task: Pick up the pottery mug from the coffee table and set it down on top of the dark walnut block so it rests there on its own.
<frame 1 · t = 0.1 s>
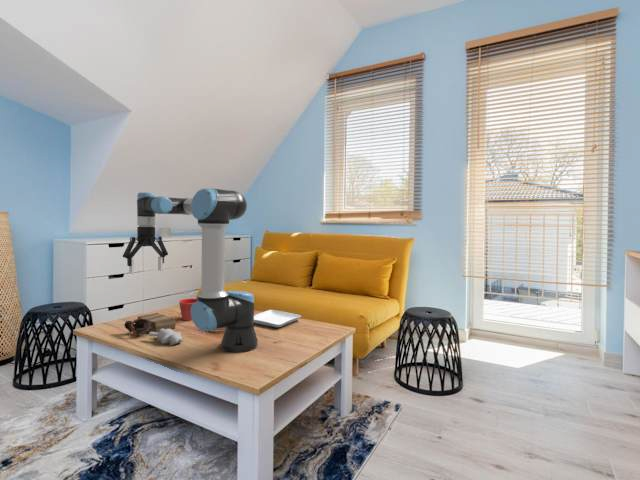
hand: (146, 271, 174), 28 cm above the table, tool pointing down, fingers open, 13 cm apart
flower pot: (190, 319, 198), on the table
walnut block: (156, 327, 180), on the table
pottery mug: (137, 334, 170), on the table
bunny figurine: (166, 342, 161), on the table
salad plate: (274, 322, 196), on the table
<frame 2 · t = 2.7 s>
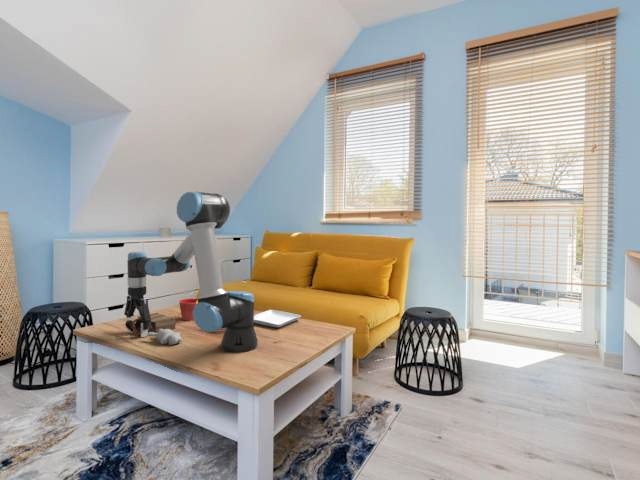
hand: (137, 333, 170), 0 cm above the table, tool pointing down, fingers closed on pottery mug, 11 cm apart
pottery mug: (138, 334, 171), on the table, touching gripper
everything else where it was.
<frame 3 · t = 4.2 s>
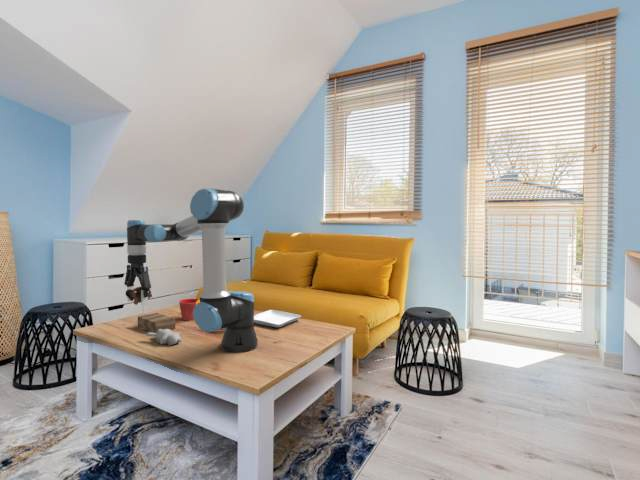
hand: (137, 302, 169), 15 cm above the table, tool pointing down, fingers closed on pottery mug, 11 cm apart
pottery mug: (138, 303, 170), point 14 cm above the table, touching gripper
everything else where it was.
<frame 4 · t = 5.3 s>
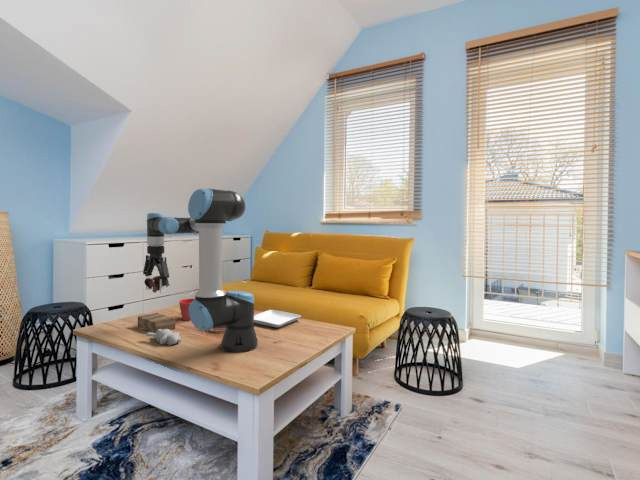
hand: (155, 290, 179), 18 cm above the table, tool pointing down, fingers closed on pottery mug, 11 cm apart
pottery mug: (156, 291, 180), point 18 cm above the table, touching gripper
everything else where it was.
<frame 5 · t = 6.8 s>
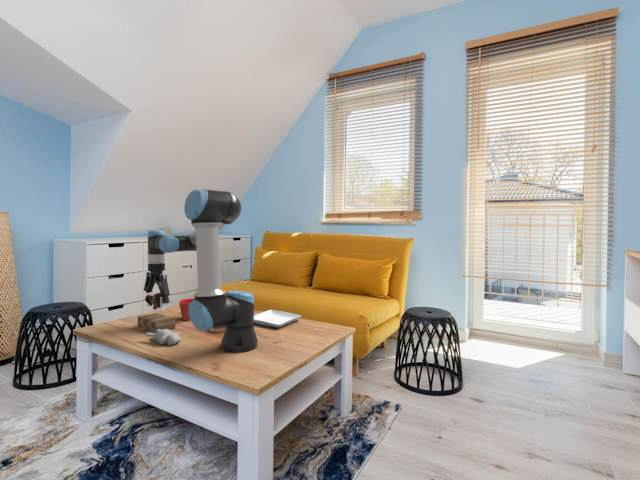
hand: (156, 307, 180), 10 cm above the table, tool pointing down, fingers closed on pottery mug, 11 cm apart
pottery mug: (157, 308, 181), point 9 cm above the table, touching gripper
when the fingers open (7 cm above the table, at t = 8.1 s): pottery mug drops 1 cm, resting on walnut block.
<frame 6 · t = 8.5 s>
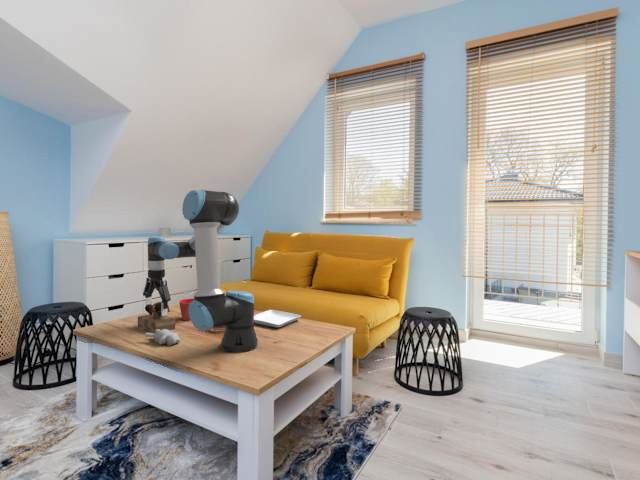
hand: (156, 313, 180), 7 cm above the table, tool pointing down, fingers open, 13 cm apart
pottery mug: (157, 317, 181), point 5 cm above the table, touching walnut block
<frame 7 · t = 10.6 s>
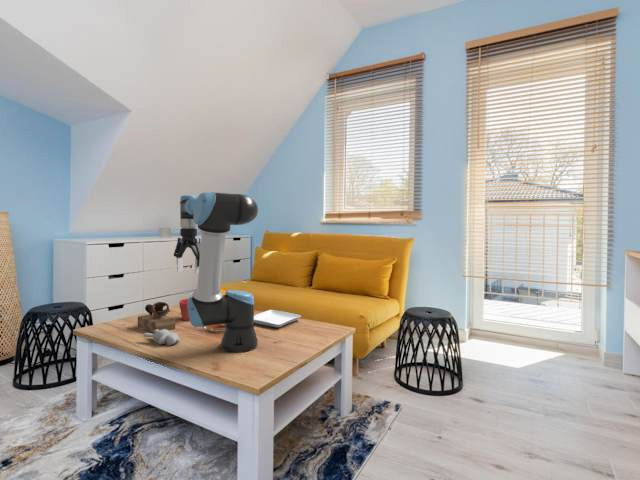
hand: (188, 272, 180), 27 cm above the table, tool pointing down, fingers open, 13 cm apart
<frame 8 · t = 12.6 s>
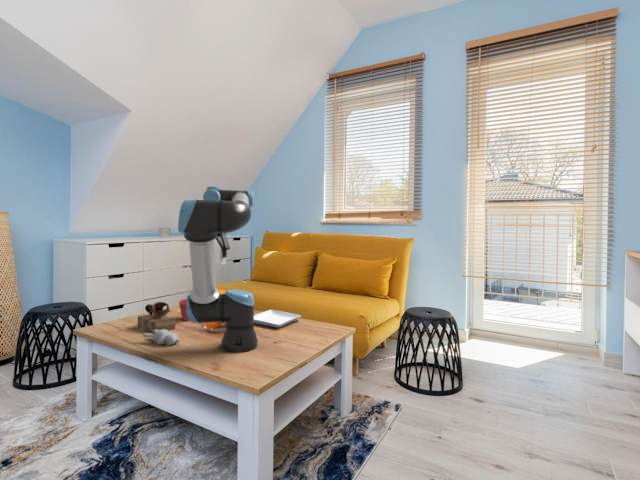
hand: (214, 263, 181), 32 cm above the table, tool pointing down, fingers open, 13 cm apart
at the end: pottery mug inside the target area on the walnut block (0.9 cm from its centre), point 4.8 cm above the walnut block's base; pottery mug tilted 1°; pottery mug touching walnut block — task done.
